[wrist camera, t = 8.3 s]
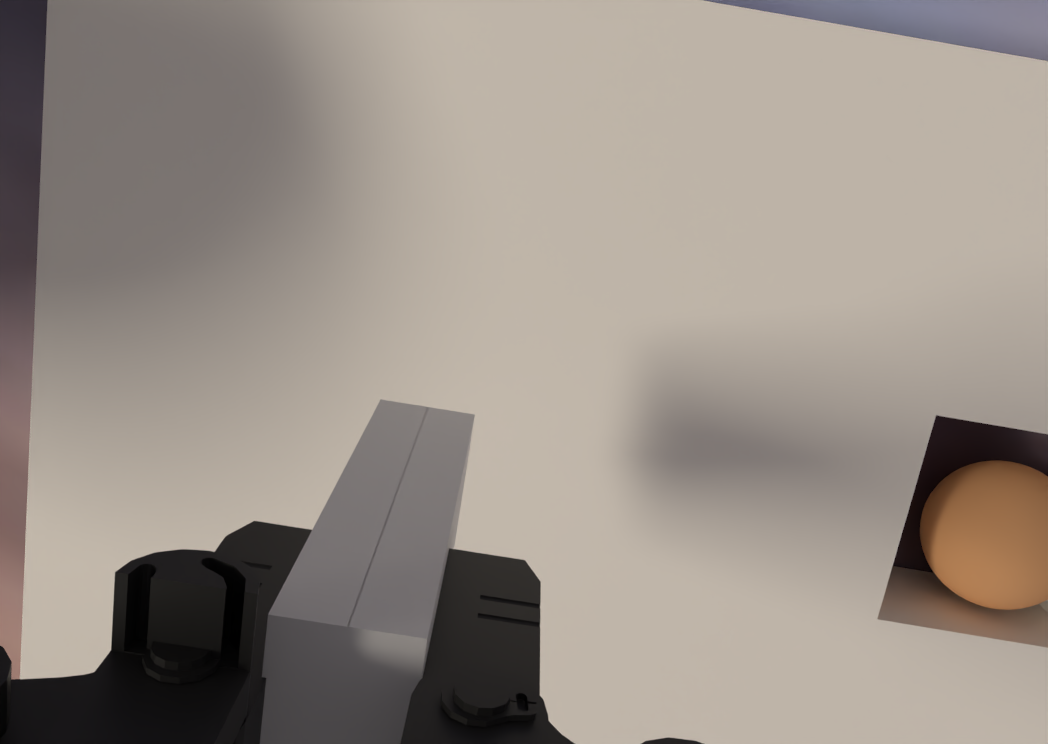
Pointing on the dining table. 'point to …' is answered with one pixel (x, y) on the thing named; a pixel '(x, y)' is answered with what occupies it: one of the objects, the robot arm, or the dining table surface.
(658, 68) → the hole board
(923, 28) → the dining table surface
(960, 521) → the ball
